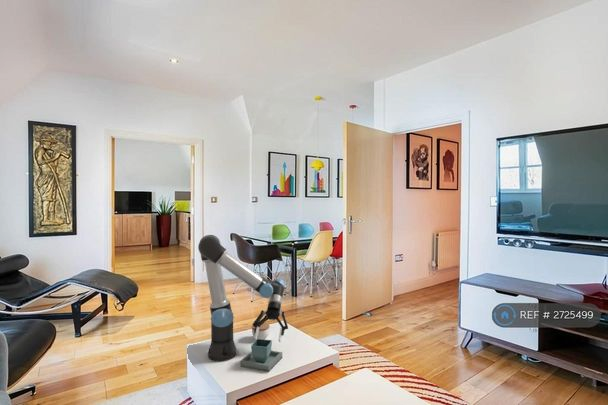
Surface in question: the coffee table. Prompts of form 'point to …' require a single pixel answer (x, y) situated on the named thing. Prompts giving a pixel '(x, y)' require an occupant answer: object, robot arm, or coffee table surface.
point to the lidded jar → (262, 331)
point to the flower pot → (261, 350)
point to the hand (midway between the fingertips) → (267, 340)
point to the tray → (262, 366)
